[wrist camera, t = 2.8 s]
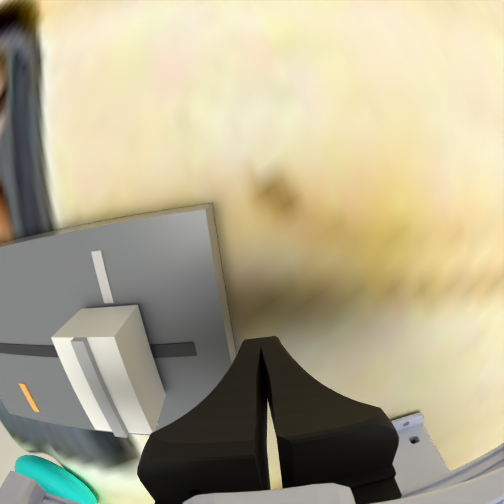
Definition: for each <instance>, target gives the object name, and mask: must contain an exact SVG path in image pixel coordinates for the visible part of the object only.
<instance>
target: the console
mask: <svg viewBox="0 0 504 504" xmlns="http://www.w3.org/2000/svg"><path fill="white" fill-rule="evenodd" d="M128 305H138V307H139V311H140V314H141V318H142V322H143V325H144V329H145V332H146V336H147V339H148V342H149V346H150V349H151V352H152V355H153V358H154V361H155V364H156V368H157V371H158V374H159V376H160V379H161V382H162V385H163V388H164V391H165V394H166V397H165V400H164V403H163V406H162V409H161V412H160V416H159V419H158V422H157V425H156V428H155V431H157V430H159V429H161V428H163V427H164V426H166V425H168V424H170V423H172V422H174V421H175V420H177V419H179V418H180V417H182V416H183V415H185V414H186V413H188V412H189V411H190V410H192V409H193V408H194V407H195V406H197V405H198V404H199V403H200V402H201V401H202V400H203V399H205V398H206V397H207V396H208V395H209V394H210V392H211V391H212V390H213V389H214V388H215V387H216V386H217V384H218V383H219V382H220V381H221V379H222V378H223V376H224V375H225V374H226V372H227V371H228V369H229V368H230V366H231V364H232V363H233V361H234V359H235V358H236V356H237V355H236V349H235V344H234V338H233V332H232V326H231V320H230V314H229V309H228V302H227V296H226V290H225V284H224V278H223V271H222V265H221V259H220V252H219V245H218V239H217V232H216V225H215V218H214V211H213V204H212V203H208V204H201V205H194V206H187V207H181V208H174V209H168V210H161V211H155V212H149V213H143V214H137V215H132V216H126V217H120V218H115V219H109V220H104V221H99V222H94V223H88V224H83V225H78V226H73V227H69V228H64V229H59V230H54V231H50V232H45V233H40V234H36V235H32V236H27V237H23V238H19V239H14V240H10V241H6V242H2V243H0V398H1V400H2V402H3V403H4V405H5V407H6V409H7V410H8V412H9V413H11V414H14V415H18V416H22V417H26V418H30V419H35V420H39V421H44V422H49V423H54V424H59V425H64V426H70V427H76V428H83V429H90V430H95V428H94V426H93V425H92V423H91V421H90V419H89V418H88V416H87V414H86V412H85V410H84V408H83V406H82V405H81V403H80V401H79V399H78V397H77V395H76V393H75V391H74V389H73V387H72V385H71V383H70V380H69V378H68V376H67V374H66V372H65V370H64V367H63V365H62V363H61V361H60V358H59V356H58V353H57V351H56V349H55V346H54V344H53V341H52V339H51V337H52V336H53V335H54V334H55V333H56V332H57V331H58V330H59V329H60V328H61V327H62V326H63V325H64V324H66V323H67V322H68V321H69V320H70V319H71V318H72V317H73V316H74V315H75V314H76V313H77V312H78V311H79V310H80V309H85V308H101V307H115V306H128ZM97 431H103V430H97ZM106 432H112V431H106ZM129 434H136V433H129ZM140 435H150V434H140Z"/></svg>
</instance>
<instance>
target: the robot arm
mask: <svg viewBox="0 0 504 504" xmlns="http://www.w3.org/2000/svg"><path fill="white" fill-rule="evenodd" d="M267 398H268V402H269V407H270V411H271V416H272V420H273V424H274V429H275V433H276V437H277V444H278V452H279V460H280V469H281V477H282V485H283V489H275V490H271V489H270V479H269V468H268V457H267ZM422 420H423V415H422V414H421V413H420V412H419V413H415V414H412V415H409V416H406V417H402V418H399V419H396V420H392V421H390V420H389V418H388V417H387V416H386V414H385V413H384V412H383V410H382V409H381V408H379V407H375V406H371V405H368V404H364V403H361V402H358V401H355V400H352V399H350V398H347V397H345V396H343V395H341V394H339V393H337V392H335V391H333V390H331V389H329V388H327V387H326V386H324V385H323V384H321V383H320V382H319V381H317V380H316V379H314V378H313V377H312V376H311V375H309V374H308V373H307V372H306V371H305V370H304V369H303V368H302V367H301V366H300V365H299V364H298V363H297V362H296V361H295V360H294V359H293V358H292V357H291V356H290V354H289V353H288V352H287V351H286V349H285V348H284V347H283V345H282V344H281V342H280V340H279V338H278V337H276V336H272V337H264V338H255V339H246V340H244V341H243V342H242V345H241V348H240V350H239V352H238V354H237V356H236V358H235V359H234V361H233V363H232V364H231V366H230V368H229V369H228V371H227V372H226V374H225V375H224V376H223V378H222V379H221V381H220V382H219V383H218V384H217V386H216V387H215V388H214V389H213V390H212V391H211V392H210V394H209V395H208V396H207V397H206V398H205V399H203V400H202V401H201V402H200V403H199V404H198V405H197V406H195V407H194V408H193V409H192V410H190V411H189V412H188V413H186V414H185V415H183V416H182V417H180V418H179V419H177V420H175V421H174V422H172V423H170V424H168V425H166V426H164V427H163V428H161V429H159V430H157V431H155V432H152V433H151V434H150V437H149V439H148V441H147V443H146V445H145V447H144V449H143V452H142V455H141V459H140V462H139V465H138V470H137V475H138V477H139V479H140V481H141V482H142V484H143V485H144V487H145V488H146V489H147V491H148V492H149V493H150V495H151V496H152V497H153V499H154V500H155V504H504V443H503V444H501V445H500V446H498V447H496V448H495V449H493V450H491V451H489V452H488V453H486V454H484V455H482V456H480V457H479V458H477V459H475V460H473V461H471V462H469V463H467V464H465V465H463V466H461V467H459V468H457V469H455V470H453V471H451V472H450V470H449V469H448V467H447V465H446V463H445V462H444V460H443V458H442V457H441V455H440V453H439V451H438V450H437V448H436V446H435V445H434V443H433V441H432V440H431V438H430V436H429V435H428V433H427V431H426V430H425V428H424V427H423V425H422V424H421V423H422ZM0 504H82V503H78V502H75V501H71V500H68V499H65V498H61V497H58V496H55V495H52V494H49V493H46V492H45V490H44V489H43V488H42V487H41V486H40V485H39V484H38V483H37V482H36V481H35V480H33V479H31V478H29V477H27V476H24V475H22V474H19V473H17V472H14V471H10V473H9V474H8V476H7V478H6V479H5V481H4V483H3V484H2V486H1V488H0Z"/></svg>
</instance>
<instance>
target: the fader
mask: <svg viewBox="0 0 504 504" xmlns="http://www.w3.org/2000/svg"><path fill="white" fill-rule="evenodd" d="M51 339H52V341H53V344H54V346H55V349H56V351H57V353H58V356H59V358H60V361H61V363H62V365H63V367H64V370H65V372H66V374H67V376H68V378H69V380H70V383H71V385H72V387H73V389H74V391H75V393H76V395H77V397H78V399H79V401H80V403H81V405H82V406H83V408H84V410H85V412H86V414H87V416H88V418H89V419H90V421H91V423H92V425H93V426H94V428H95V430H103V431H112V432H113V433H114V435H115V436H116V437H126V438H127V437H128V434H129V433H136V434H151V433H152V432H155V428H156V425H157V422H158V419H159V416H160V412H161V409H162V406H163V403H164V400H165V397H166V394H165V391H164V388H163V385H162V382H161V379H160V376H159V374H158V371H157V368H156V364H155V361H154V358H153V355H152V352H151V349H150V346H149V342H148V339H147V336H146V332H145V329H144V325H143V322H142V318H141V314H140V311H139V307H138V305H128V306H115V307H101V308H85V309H80V310H79V311H78V312H77V313H76V314H75V315H74V316H73V317H72V318H71V319H70V320H69V321H68V322H67V323H66V324H64V325H63V326H62V327H61V328H60V329H59V330H58V331H57V332H56V333H55V334H54V335H53V336H52V337H51Z"/></svg>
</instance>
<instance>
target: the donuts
mask: <svg viewBox="0 0 504 504" xmlns="http://www.w3.org/2000/svg"><path fill="white" fill-rule="evenodd" d="M15 472H17V473H19V474H22V475H24V476H27V477H29V478H31V479H33V480H35V481H36V482H37V483H38V484H39V485H40V486H41V487H42V488H43V489H44V490H45V492H46V493H49V494H52V495H55V496H58V497H61V498H65V499H68V500H71V501H75V502H78V503H82V504H98V503H97V499H96V497H95V496H94V494H93V493H92V491H91V490H90V489H89V488H88V487H87V486H86V485H85V484H84V483H83V482H82V481H80V480H79V479H78V478H77V477H75V476H74V475H73V474H71V473H70V472H68V471H67V470H65V469H63V468H62V467H60V466H58V465H56V464H54V463H53V462H51V461H48V460H46V459H43V458H41V457H38V456H33V455H25V456H22V457H20V458H18V460H17V461H16V463H15Z"/></svg>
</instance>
